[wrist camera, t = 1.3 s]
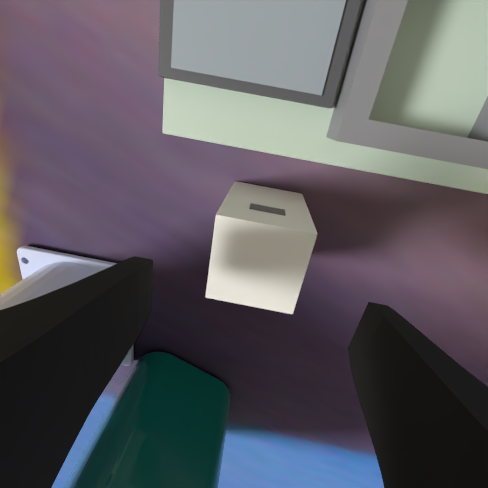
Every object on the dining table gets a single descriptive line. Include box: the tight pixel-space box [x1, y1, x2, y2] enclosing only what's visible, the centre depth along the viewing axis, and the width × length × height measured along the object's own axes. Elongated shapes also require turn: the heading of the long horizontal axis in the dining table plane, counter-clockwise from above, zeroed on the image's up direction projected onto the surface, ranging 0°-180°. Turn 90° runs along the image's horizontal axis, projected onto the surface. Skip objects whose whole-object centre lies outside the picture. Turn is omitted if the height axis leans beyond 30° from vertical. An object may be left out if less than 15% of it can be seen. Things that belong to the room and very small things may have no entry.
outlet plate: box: [158, 0, 488, 194], centre depth 11 cm, size 10×18×3 cm, turn 81°
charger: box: [205, 181, 317, 314], centre depth 14 cm, size 4×4×6 cm
